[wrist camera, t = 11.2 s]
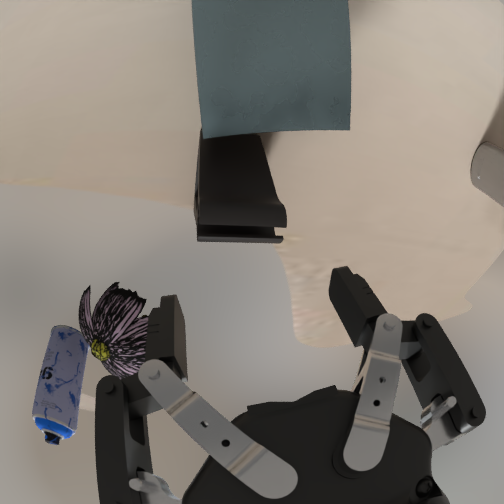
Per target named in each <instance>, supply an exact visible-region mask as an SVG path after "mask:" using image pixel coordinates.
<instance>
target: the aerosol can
mask: <svg viewBox="0 0 504 504" xmlns="http://www.w3.org/2000/svg"><path fill="white" fill-rule="evenodd" d="M89 348H90V346H89V345H88V343H87V342H86V341H85V339H84V337H83V335H82V333H81V332H80V331H78V330H76V329H74V328H72V327H69V326H65V325H58V326H54V327H53V328H52V330H51V337H50V340H49V343H48V346H47V350H46V353H45V357H44V360H43V364H42V368H41V372H40V376H39V381H38V385H37V389H36V395H35V399H34V405H33V411H32V414H33V415H32V417H33V419H34V421H35V423H36V425H37V426H38V428H40V430H42V432H43V433H45V441H46V442H47V443H50V444H55V445H59V440H60V439H61V440H62V439H65V438H70V437H71V436H72V435H73V434H75V432H76V429H77V421H78V411H79V403H80V395H81V388H82V381H83V375H84V369H85V364H86V358H87V353H88V350H89Z"/></svg>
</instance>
